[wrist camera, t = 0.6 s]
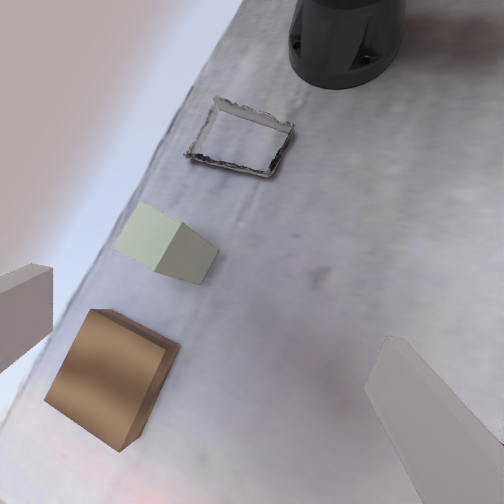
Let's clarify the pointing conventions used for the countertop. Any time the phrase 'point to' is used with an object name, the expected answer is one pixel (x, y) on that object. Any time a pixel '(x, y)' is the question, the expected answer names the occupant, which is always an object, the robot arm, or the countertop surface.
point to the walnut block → (112, 377)
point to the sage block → (165, 245)
